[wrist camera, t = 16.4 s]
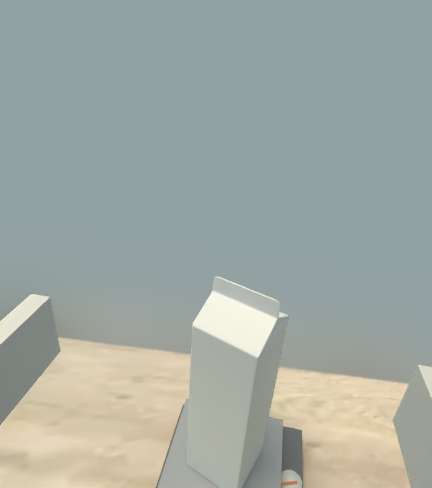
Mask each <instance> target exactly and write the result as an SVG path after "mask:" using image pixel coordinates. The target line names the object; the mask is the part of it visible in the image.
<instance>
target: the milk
mask: <svg viewBox="0 0 432 488" xmlns="http://www.w3.org/2000/svg"><path fill="white" fill-rule="evenodd" d="M288 318H289V316H288V315H286V314H284V313H281V312H280V303H279V302H278V301H277V300H275V299H273V298H270V297H267V296H265V295H263V294H260V293H258V292H255V291H253V290H250V289H248V288H245V287H243V286H240V285H238V284H235V283H233V282H230V281H228V280H225V279H223V278H220V277H215V278H214V281H213V291H212V293H211V295H210V296H209V298H208V300H207V301H206V303H205V304H204V306H203V308H202V309H201V311H200V313H199V314H198V316H197V318H196V319H195V321H194V323H193V324H192V341H191V367H190V392H189V417H188V443H187V465H188V466H190V467H191V468H192V469H194V470H195V471H197V472H198V473H199V474H201V475H202V476H204V477H205V478H206V479H208V480H209V481H211V482H212V483H213V484H215V485H216V486H217V487H219V488H242V486H243V485H244V483H245V481H246V479H247V477H248V475H249V474H250V472H251V470H252V468H253V466H254V464H255V463H256V461H257V459H258V457H259V455H260V453H261V451H262V448H263V443H264V438H265V433H266V428H267V423H268V418H269V413H270V408H271V403H272V398H273V393H274V388H275V383H276V378H277V373H278V368H279V363H280V358H281V353H282V348H283V343H284V338H285V333H286V328H287V323H288Z"/></svg>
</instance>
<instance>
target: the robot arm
mask: <svg viewBox="0 0 432 488" xmlns="http://www.w3.org/2000/svg"><path fill="white" fill-rule="evenodd" d="M59 352H60V347H59V342H58V336H57V331H56V326H55V321H54V316H53V311H52V305H51V300H50V297H46V296H41V295H35V294H31V295H30V296H29V297H28V298H26V299H25V300H24V301H23V302H22V303H21V304H20V305H18V306H17V307H16V308H15V309H14V310H13V311H12V312H10V313H9V314H8V315H7V316H6V317H5V318H4V319H2V320H1V321H0V425H1V423H2V422H3V421H4V420H5V418H6V417H7V416H8V415H9V414H10V412H11V411H12V410H13V409H14V407H15V406H16V405H17V404H18V403H19V401H20V400H21V399H22V398H23V396H24V395H25V394H26V393H27V391H28V390H29V389H30V388H31V387H32V385H33V384H34V383H35V382H36V380H37V379H38V378H39V377H40V376H41V374H42V373H43V372H44V371H45V369H46V368H47V367H48V366H49V365H50V363H51V362H52V361H53V360H54V358H55V357H56V356H57V355H58V353H59ZM393 422H394V426H395V430H396V433H397V437H398V441H399V444H400V448H401V452H402V455H403V459H404V463H405V466H406V470H407V474H408V477H409V481H410V485H411V488H432V367H428V366H422V365H418V366H417V368H416V370H415V372H414V374H413V377H412V379H411V381H410V383H409V385H408V388H407V390H406V392H405V394H404V396H403V399H402V401H401V403H400V405H399V407H398V410H397V412H396V414H395V416H394V419H393Z"/></svg>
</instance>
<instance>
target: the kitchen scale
mask: <svg viewBox="0 0 432 488" xmlns="http://www.w3.org/2000/svg"><path fill="white" fill-rule="evenodd" d="M188 417H189V399H186V401H185V404H184V405H183V407H182V410H181V413H180V416H179V419H178V422H177V425H176V428H175V431H174V434H173V437H172V440H171V443H170V446H169V449H168V452H167V455H166V458H165V462H164V465H163V468H162V471H161V474H160V477H159V480H158V483H157V486H156V488H219V487H217V486H216V485H215V484H213V483H212V482H211V481H209V480H208V479H206V478H205V477H204V476H202V475H201V474H199V473H198V472H197V471H195V470H194V469H192V468H191V467H190V466H188V465H187V443H188ZM242 488H303V475H302V430H298V429H293V428H289V427H284V426H283V420H281V419H277V418H272V417H269V418H268V423H267V428H266V433H265V438H264V443H263V448H262V451H261V453H260V455H259V457H258V459H257V461H256V463H255V464H254V466H253V468H252V470H251V472H250V474H249V475H248V477H247V479H246V481H245V483H244V485H243V486H242Z"/></svg>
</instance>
